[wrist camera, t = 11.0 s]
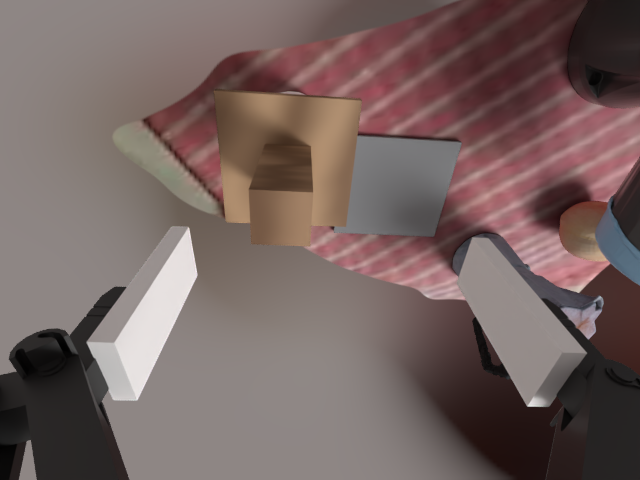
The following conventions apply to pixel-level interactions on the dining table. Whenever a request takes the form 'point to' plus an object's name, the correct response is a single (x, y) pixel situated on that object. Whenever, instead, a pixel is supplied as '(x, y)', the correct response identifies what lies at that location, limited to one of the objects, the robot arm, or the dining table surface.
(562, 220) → the fruit
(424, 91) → the dining table surface
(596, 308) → the moka pot
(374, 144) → the rubber mat
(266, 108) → the walnut lid
